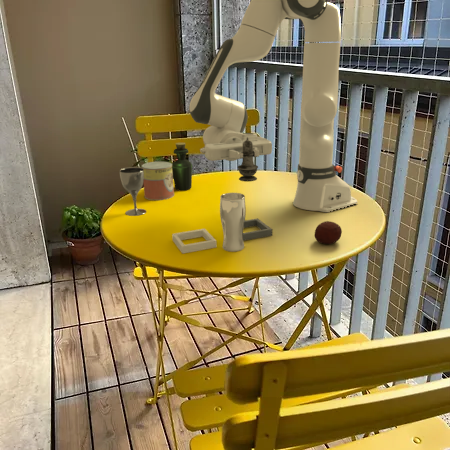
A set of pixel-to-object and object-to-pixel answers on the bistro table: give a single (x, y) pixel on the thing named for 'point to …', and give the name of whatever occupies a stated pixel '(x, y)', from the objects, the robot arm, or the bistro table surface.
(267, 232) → the dark socket
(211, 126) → the robot arm
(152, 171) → the canned food
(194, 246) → the pale socket
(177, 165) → the potion bottle
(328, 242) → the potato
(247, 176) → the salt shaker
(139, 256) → the bistro table surface
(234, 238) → the beer glass
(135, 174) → the wine glass
